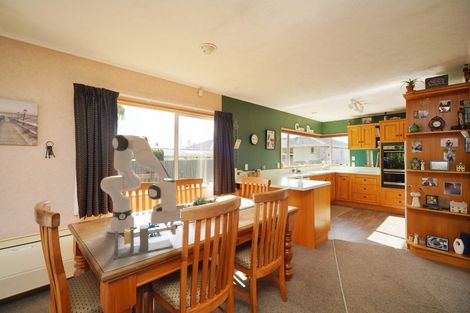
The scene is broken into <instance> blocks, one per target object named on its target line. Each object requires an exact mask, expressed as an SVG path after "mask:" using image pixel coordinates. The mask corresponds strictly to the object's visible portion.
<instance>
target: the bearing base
mask: <svg viewBox="0 0 470 313" xmlns="http://www.w3.org/2000/svg"><path fill="white" fill-rule="evenodd" d="M147 225H148V224H143V225H139V231H140V235H139V244H138V245H134V244H135V241H134V240H135V239H134V237H135V236H134V229H133V226H130V231H131V243H130V244H129V245H130V246H127V247H123V248H119V233H118V227H117V228H115V233H114V251H113V260H118V259H122V258H128V257H134V256H137V255H143V254H146V253H152V252H156V251H157V252H158V251H162V250H166V249H170V248H174V247H173V243H172V242H171V240H170V239H164V240H158V241H155V242H149V235H148V227H149V225H148V226H147Z"/></svg>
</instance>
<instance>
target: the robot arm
mask: <svg viewBox="0 0 470 313" xmlns="http://www.w3.org/2000/svg"><path fill="white" fill-rule="evenodd" d="M111 144H112V148H113V149H114V155H113V168H114V170H115V171H117V172H119V173H122V174H121V175H112V176H107V177H104V178H102V180H101V181H100V188H101V190H102V191H103V192H105V193H106V194H108V196H110V198H111V200H112V205H113V207H112V208H113V210H112V218H111V219H110V221H109V222H110V223H109V224H110V225H109V228H108V229H107V231H106V232H107V233H112V234H115V228H117V227H118V234H124V229H126V228H130V226H133V229H137V228H138V226H137V225H136V224H135V217H134V215H132V214H133V213H132V212H133V210H132V205H131V204H132V201H131V197H129V196H127V195H125V194H123V193H122V192H125V191H134V190H137V189H139V188H140V187H141V185H142V179H141V176H140V175H138V174H136V172H134V169H133V157H134V160H135V162H136V164H137V165H139V166H140V167H141V168H146V169H149V170H150V171H153V172H154V173H156V174H157V177H158V179H159V181H158V182H156V183H153V184H150V185H149V187H148V189H147V195H148V197H149V198H150V199H151V200H153V201H155V200H160V203H158V204H156V205H153V206H152V210H153V211H152V212H151V214H150V215H151V216H150V223H151V224H150V225H155V224H157V225H160V224H164V226H166V229H167V230H168V231H170V230H171V229H172V226H173V224H174V223H175V222H181V218H180V209H183V208H187V205H186V204H178V202H177V201H178V200H177V195H178V194H177V192H178V191H177V190H178V188H177V182H176V180H175V179H173V178H170V176H169V173H168V172H167V170H166V168H165V166H164V165H163V163H162V162H161V160H159V159H158V158H157V156H156V155H155V153H154V152H153V149H152V147H151V145H150V143H149V140H148V137H147V136H146V135H145V134H142V133H141V134H140V133H139V134H136V133H129V134H125V133H124V134H117V135H115V136H113V137H112V139H111ZM170 222H171V225H170ZM168 224H169V225H168ZM155 226H156V225H155Z"/></svg>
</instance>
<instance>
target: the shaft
mask: <svg viewBox="0 0 470 313" xmlns="http://www.w3.org/2000/svg"><path fill="white" fill-rule="evenodd" d="M170 225H171V222H169V226H170ZM177 229H178V225H177V224H176V223H175V222H174V224H173V226H172V229H171V230H167V229H166V225H164V226H161V227H160V226H159V227H156V228H152V229H148V234H149V235H151V234H150V233H153V234H154V233H155V234H157V232H159V233H160V232H161V233H162V232H167V231H170V232H171V234H172V235H173V236H174V235H176V232H177ZM137 236H140V230H135V231H134V237H137Z"/></svg>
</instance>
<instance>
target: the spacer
mask: <svg viewBox="0 0 470 313" xmlns="http://www.w3.org/2000/svg"><path fill="white" fill-rule="evenodd" d="M123 234H124V235H123V236H124V237H123V238H124V241H123V242H124V245H130V243H131V231H130V228H126V229H124V233H123Z"/></svg>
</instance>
